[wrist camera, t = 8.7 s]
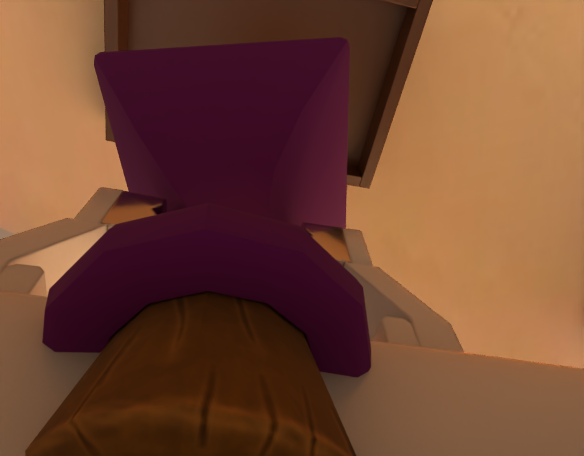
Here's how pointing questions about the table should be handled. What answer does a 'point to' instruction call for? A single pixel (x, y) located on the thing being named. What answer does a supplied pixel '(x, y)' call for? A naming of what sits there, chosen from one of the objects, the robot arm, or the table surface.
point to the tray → (293, 26)
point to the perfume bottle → (216, 261)
